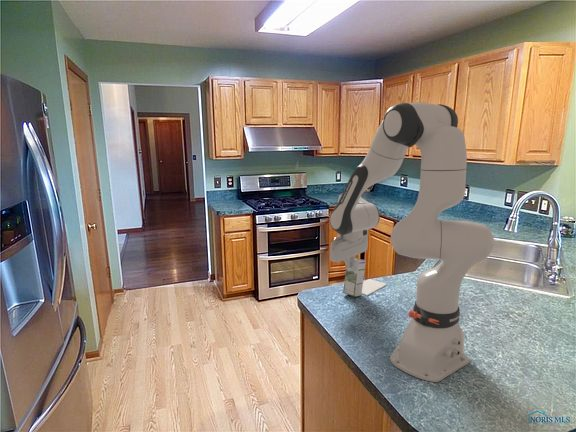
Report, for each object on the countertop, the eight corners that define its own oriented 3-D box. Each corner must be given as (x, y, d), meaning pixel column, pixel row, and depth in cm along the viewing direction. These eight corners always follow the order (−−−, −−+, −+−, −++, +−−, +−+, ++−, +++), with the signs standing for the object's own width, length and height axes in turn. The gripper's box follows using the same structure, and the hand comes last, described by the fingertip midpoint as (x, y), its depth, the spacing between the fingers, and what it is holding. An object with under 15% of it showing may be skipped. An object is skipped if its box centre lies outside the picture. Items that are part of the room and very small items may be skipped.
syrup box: (362, 295, 139) (366, 260, 139) (354, 296, 135) (359, 260, 135) (350, 291, 143) (354, 257, 143) (342, 293, 139) (346, 257, 138)
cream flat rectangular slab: (367, 295, 138) (367, 294, 138) (349, 289, 145) (349, 288, 145) (387, 284, 148) (387, 283, 148) (369, 279, 155) (369, 278, 155)
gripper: (338, 240, 124) (339, 276, 126) (370, 229, 137) (370, 262, 140) (325, 237, 128) (326, 272, 131) (357, 227, 142) (357, 258, 145)
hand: (349, 267), depth 136 cm, fingers closed
